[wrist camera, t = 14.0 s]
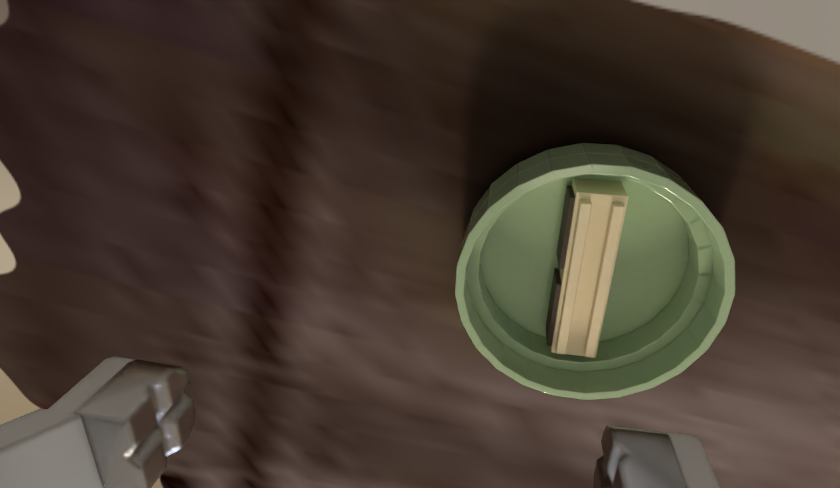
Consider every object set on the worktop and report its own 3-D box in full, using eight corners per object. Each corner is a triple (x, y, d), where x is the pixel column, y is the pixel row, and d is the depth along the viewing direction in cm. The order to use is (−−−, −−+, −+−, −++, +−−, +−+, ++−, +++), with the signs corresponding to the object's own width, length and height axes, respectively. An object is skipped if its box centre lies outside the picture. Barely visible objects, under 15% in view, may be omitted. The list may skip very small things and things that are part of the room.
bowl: (470, 133, 37) (463, 154, 32) (737, 150, 35) (773, 176, 30) (457, 339, 44) (449, 382, 39) (675, 365, 42) (696, 414, 37)
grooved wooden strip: (567, 177, 37) (572, 195, 33) (621, 182, 36) (630, 199, 33) (544, 330, 42) (546, 357, 39) (591, 336, 41) (597, 363, 38)
